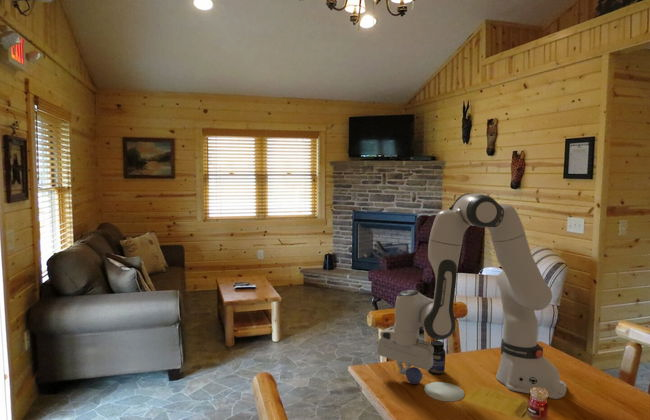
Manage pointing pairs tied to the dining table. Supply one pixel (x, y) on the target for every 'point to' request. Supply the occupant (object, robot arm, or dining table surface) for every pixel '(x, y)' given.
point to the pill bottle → (438, 358)
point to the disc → (444, 391)
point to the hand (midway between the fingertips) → (403, 373)
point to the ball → (413, 375)
